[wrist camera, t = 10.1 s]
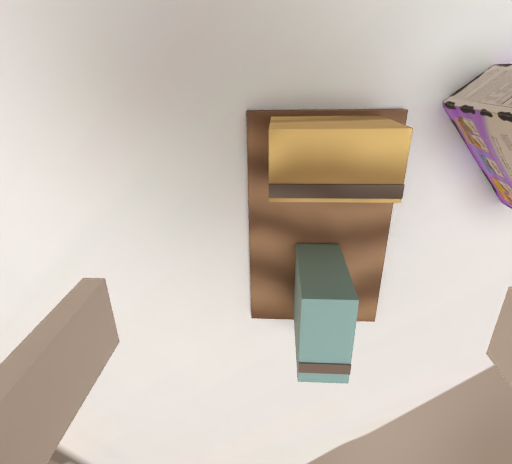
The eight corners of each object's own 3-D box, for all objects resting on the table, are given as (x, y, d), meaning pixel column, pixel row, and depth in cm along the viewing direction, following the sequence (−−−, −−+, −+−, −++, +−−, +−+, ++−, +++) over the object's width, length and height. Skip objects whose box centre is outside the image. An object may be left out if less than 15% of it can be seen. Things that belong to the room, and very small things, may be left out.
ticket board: (247, 110, 36) (236, 123, 27) (403, 108, 35) (449, 121, 26) (252, 312, 47) (245, 372, 38) (372, 315, 46) (396, 377, 37)
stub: (296, 243, 41) (301, 300, 31) (339, 244, 40) (359, 301, 30) (293, 313, 45) (297, 383, 35) (332, 314, 45) (348, 385, 34)
